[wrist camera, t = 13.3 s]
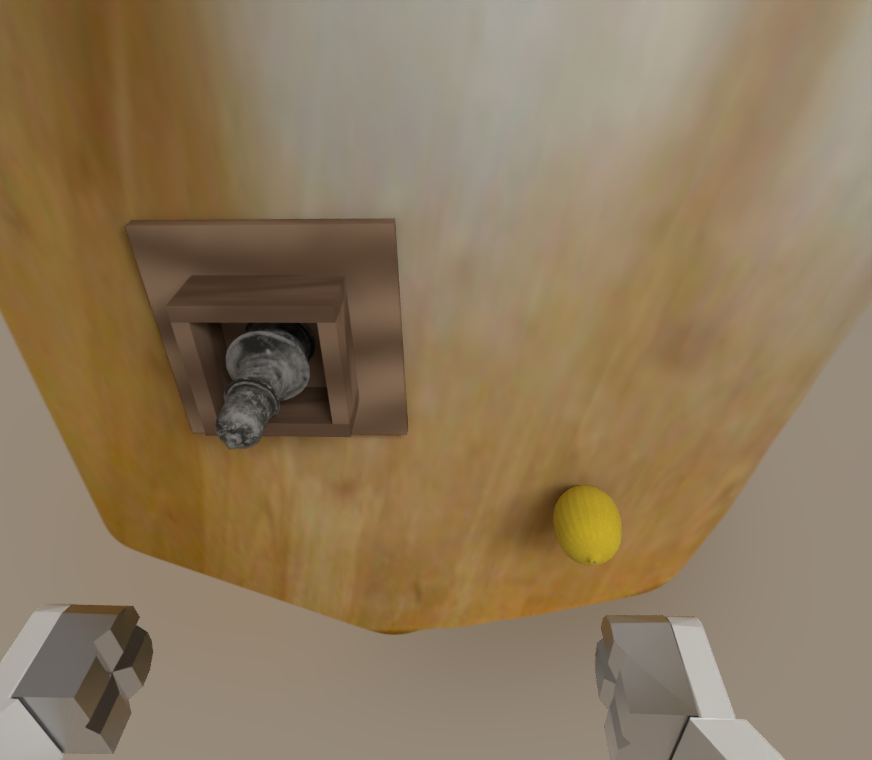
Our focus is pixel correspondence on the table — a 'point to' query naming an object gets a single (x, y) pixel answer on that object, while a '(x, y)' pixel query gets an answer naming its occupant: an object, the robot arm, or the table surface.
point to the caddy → (282, 314)
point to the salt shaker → (262, 378)
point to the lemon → (587, 525)
